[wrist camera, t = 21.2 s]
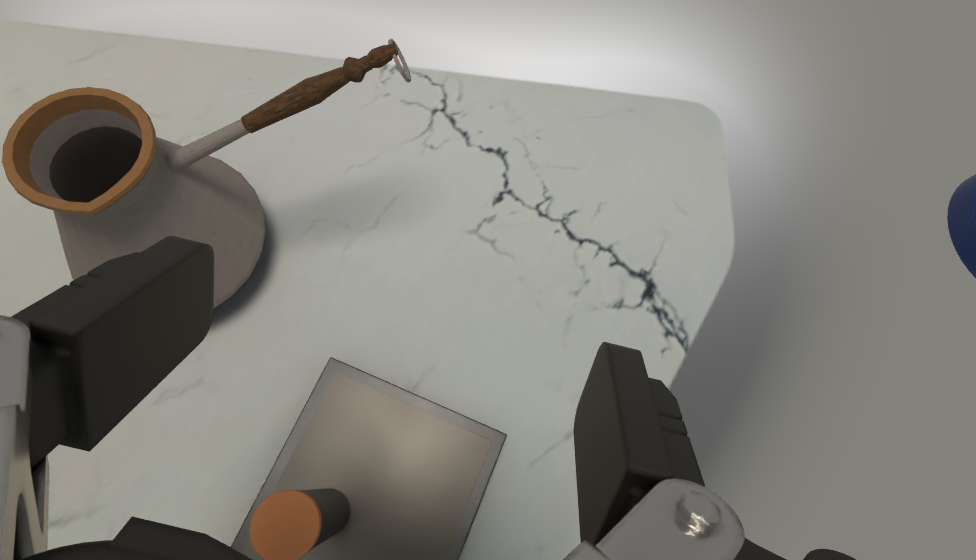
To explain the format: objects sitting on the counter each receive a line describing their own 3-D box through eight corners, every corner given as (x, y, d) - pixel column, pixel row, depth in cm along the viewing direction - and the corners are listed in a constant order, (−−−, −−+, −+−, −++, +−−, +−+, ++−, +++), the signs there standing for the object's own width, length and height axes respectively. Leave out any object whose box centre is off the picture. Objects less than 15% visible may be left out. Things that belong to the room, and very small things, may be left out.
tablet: (504, 435, 37) (507, 434, 36) (394, 717, 31) (393, 725, 30) (332, 359, 37) (330, 356, 36) (194, 624, 32) (186, 629, 31)
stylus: (359, 498, 34) (331, 506, 23) (337, 546, 33) (298, 575, 23) (317, 479, 34) (271, 478, 24) (294, 526, 33) (235, 546, 23)
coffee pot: (106, 358, 36) (-99, 278, 22) (80, 197, 39) (-113, 36, 25) (437, 263, 40) (445, 144, 26) (389, 125, 43) (374, -47, 29)
